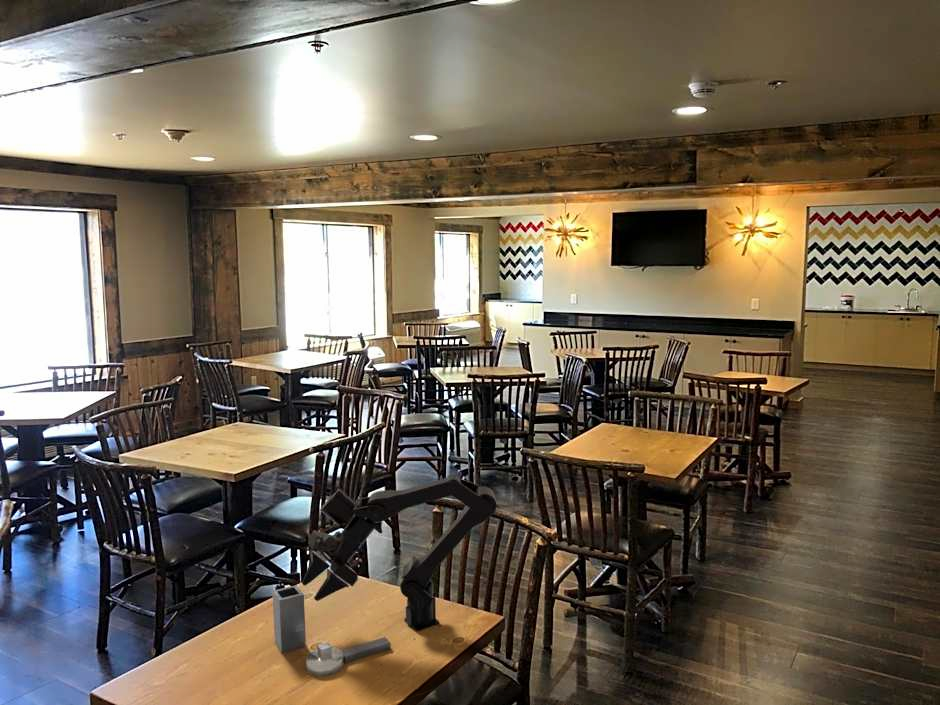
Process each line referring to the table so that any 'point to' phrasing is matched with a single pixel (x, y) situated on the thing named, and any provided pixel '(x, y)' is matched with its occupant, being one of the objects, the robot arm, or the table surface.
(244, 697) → the table surface
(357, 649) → the ratchet
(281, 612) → the socket
